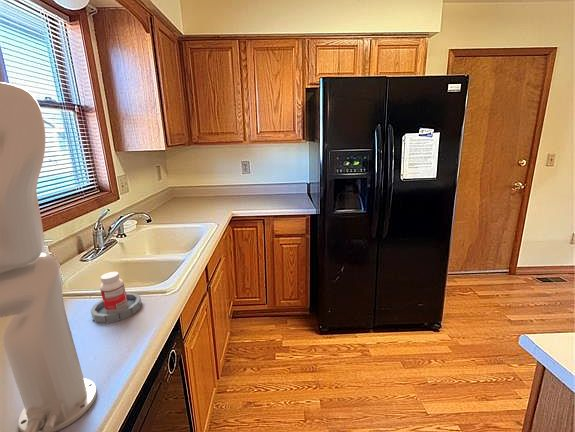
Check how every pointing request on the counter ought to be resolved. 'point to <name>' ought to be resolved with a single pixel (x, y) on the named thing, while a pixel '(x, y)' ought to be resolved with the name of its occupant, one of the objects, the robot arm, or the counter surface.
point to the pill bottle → (113, 292)
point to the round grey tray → (104, 317)
